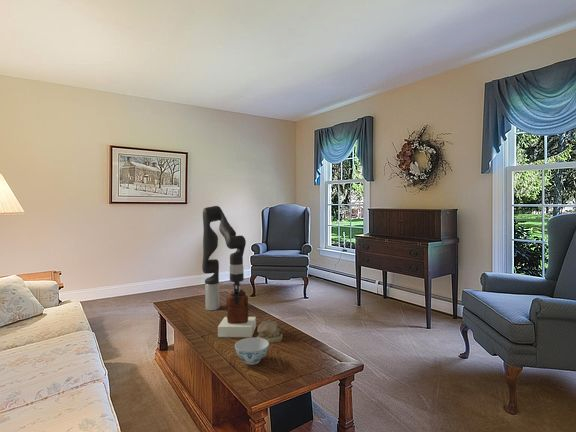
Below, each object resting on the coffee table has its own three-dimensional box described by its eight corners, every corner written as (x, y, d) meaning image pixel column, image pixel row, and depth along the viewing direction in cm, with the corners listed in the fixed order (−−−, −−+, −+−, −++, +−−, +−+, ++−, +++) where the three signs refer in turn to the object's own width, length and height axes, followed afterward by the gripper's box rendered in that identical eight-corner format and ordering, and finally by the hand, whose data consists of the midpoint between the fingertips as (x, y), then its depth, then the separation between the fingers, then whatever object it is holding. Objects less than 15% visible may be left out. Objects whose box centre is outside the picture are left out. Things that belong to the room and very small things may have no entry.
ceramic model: (252, 341, 172) (252, 322, 171) (259, 333, 183) (259, 315, 182) (279, 343, 168) (279, 324, 168) (285, 335, 179) (284, 316, 179)
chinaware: (272, 366, 144) (272, 348, 144) (237, 371, 140) (237, 353, 140) (265, 351, 159) (264, 335, 159) (233, 356, 155) (232, 339, 154)
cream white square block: (224, 327, 194) (224, 316, 194) (256, 327, 193) (255, 316, 193) (217, 338, 178) (217, 326, 178) (251, 338, 177) (251, 326, 177)
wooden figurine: (248, 319, 189) (247, 287, 188) (248, 323, 182) (248, 290, 182) (226, 320, 187) (226, 288, 187) (226, 324, 181) (225, 291, 180)
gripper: (230, 269, 191) (231, 298, 192) (228, 275, 177) (229, 305, 178) (243, 269, 192) (244, 297, 192) (243, 274, 178) (243, 305, 178)
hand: (237, 301), depth 185 cm, fingers open, 8 cm apart
